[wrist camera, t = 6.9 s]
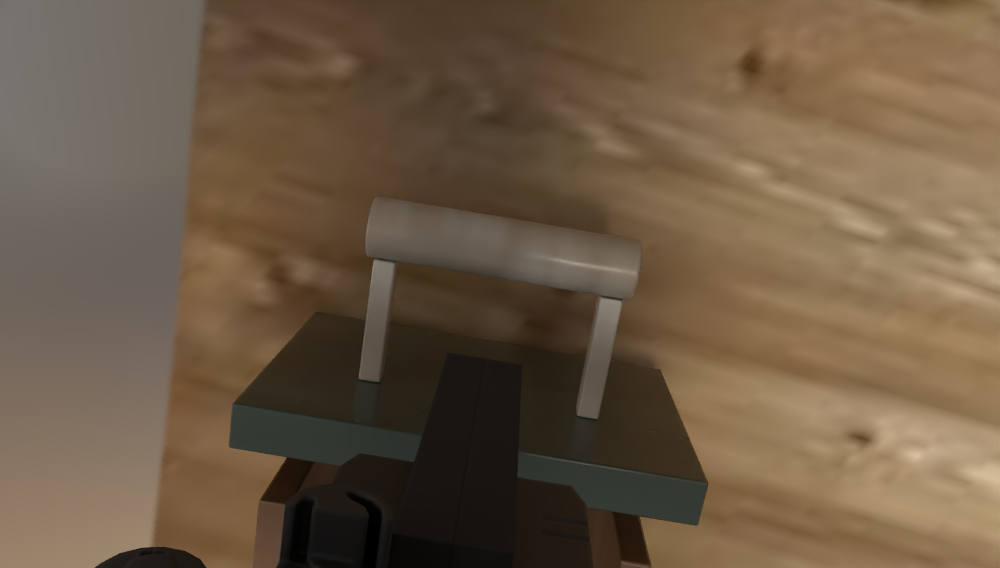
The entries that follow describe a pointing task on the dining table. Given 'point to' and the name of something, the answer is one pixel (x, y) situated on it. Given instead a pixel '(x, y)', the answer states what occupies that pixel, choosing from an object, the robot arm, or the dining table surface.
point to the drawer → (545, 374)
